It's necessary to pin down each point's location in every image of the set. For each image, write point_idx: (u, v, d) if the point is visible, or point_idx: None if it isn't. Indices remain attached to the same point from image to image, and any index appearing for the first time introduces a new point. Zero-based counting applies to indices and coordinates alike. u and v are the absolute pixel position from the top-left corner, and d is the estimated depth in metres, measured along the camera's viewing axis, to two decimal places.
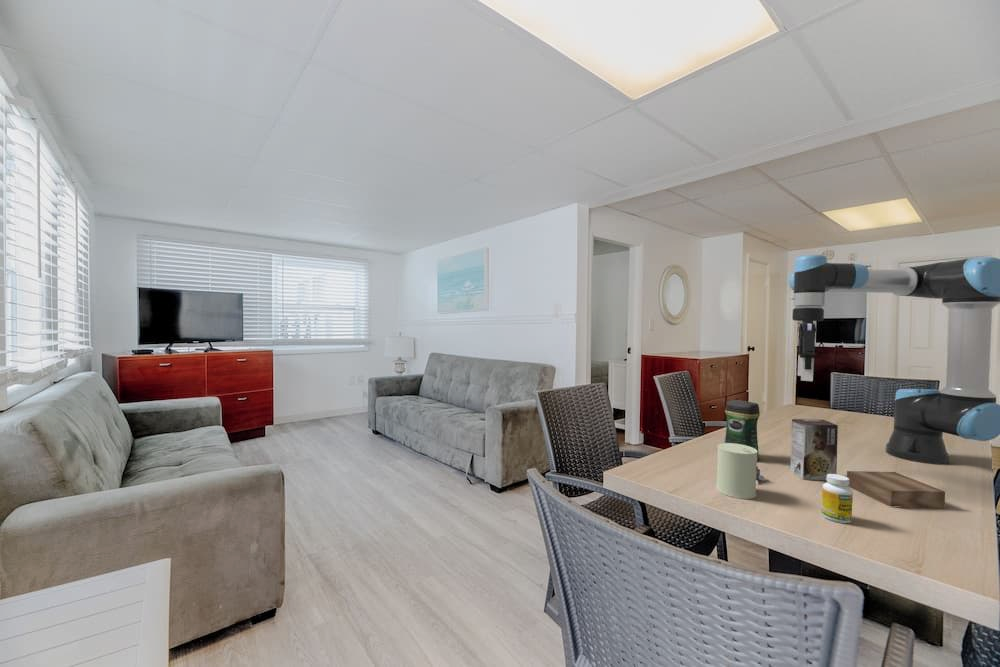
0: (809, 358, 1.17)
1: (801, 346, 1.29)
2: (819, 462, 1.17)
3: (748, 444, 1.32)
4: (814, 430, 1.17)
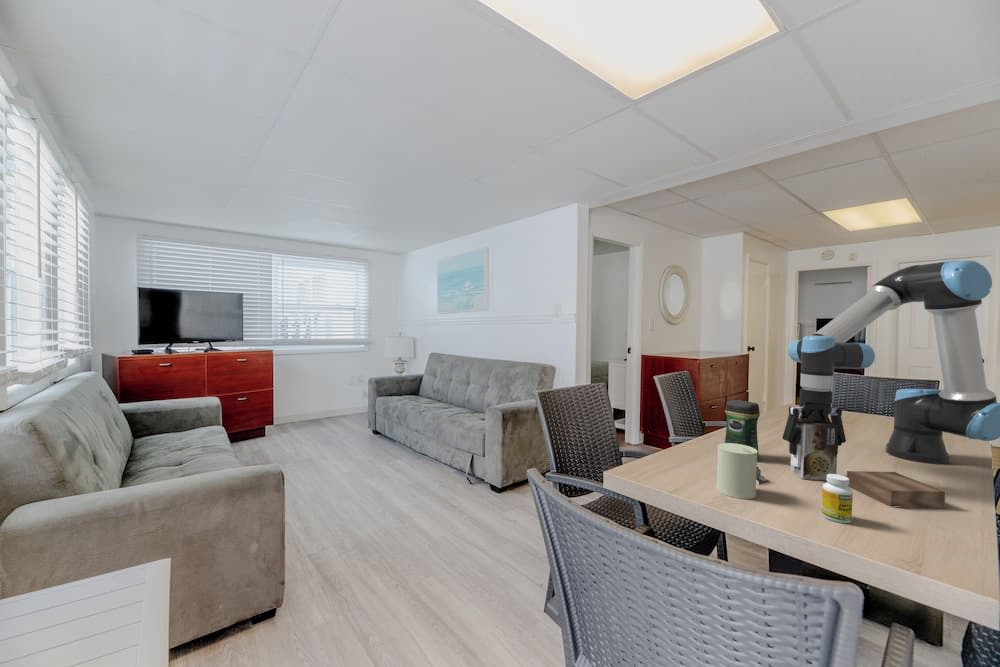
0: (791, 443, 1.20)
1: None
2: (819, 461, 1.17)
3: (748, 444, 1.32)
4: (814, 430, 1.17)
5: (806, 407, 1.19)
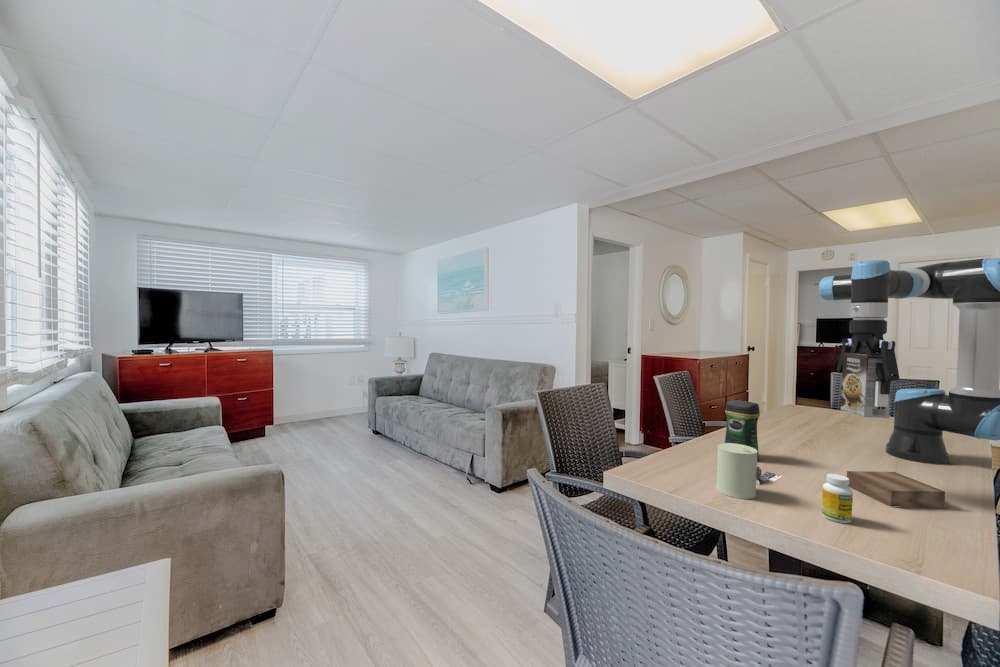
0: (889, 382, 1.04)
1: None
2: None
3: (748, 444, 1.32)
4: None
5: None
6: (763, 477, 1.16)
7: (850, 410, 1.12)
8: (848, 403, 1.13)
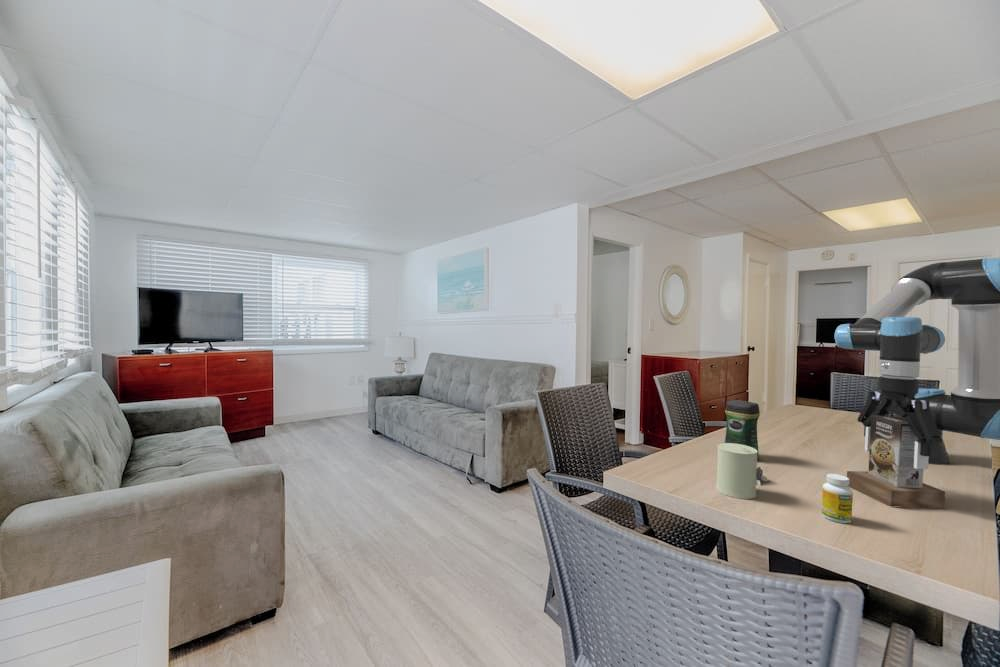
0: (930, 443, 0.98)
1: None
2: None
3: (748, 444, 1.32)
4: None
5: None
6: (764, 477, 1.16)
7: (880, 477, 1.08)
8: (877, 469, 1.08)
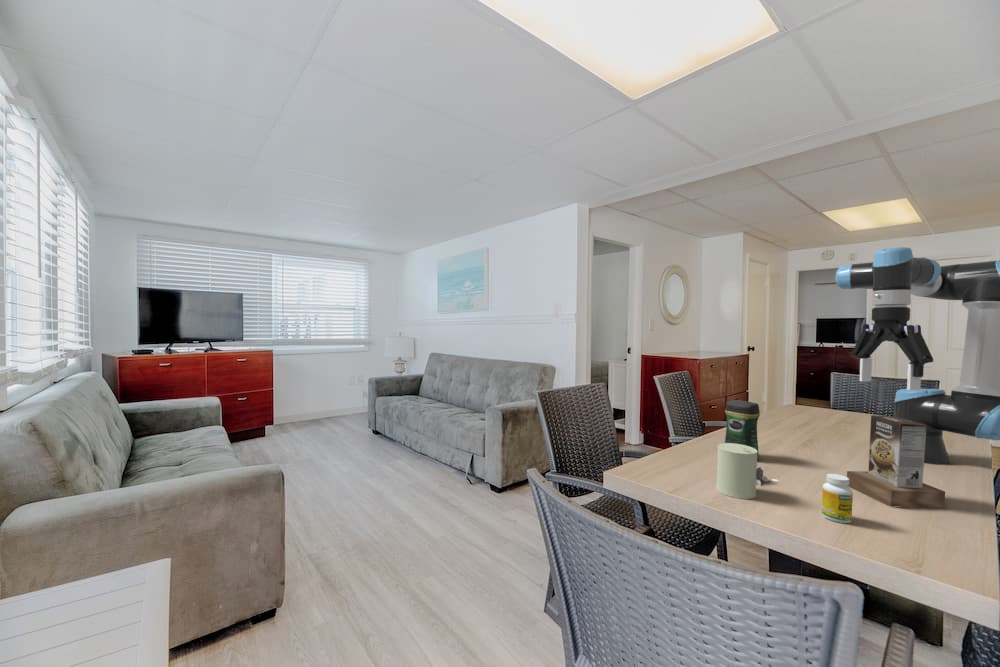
0: (922, 364, 1.03)
1: (868, 349, 1.17)
2: None
3: (748, 444, 1.32)
4: None
5: None
6: (765, 477, 1.16)
7: (880, 477, 1.08)
8: (877, 469, 1.08)
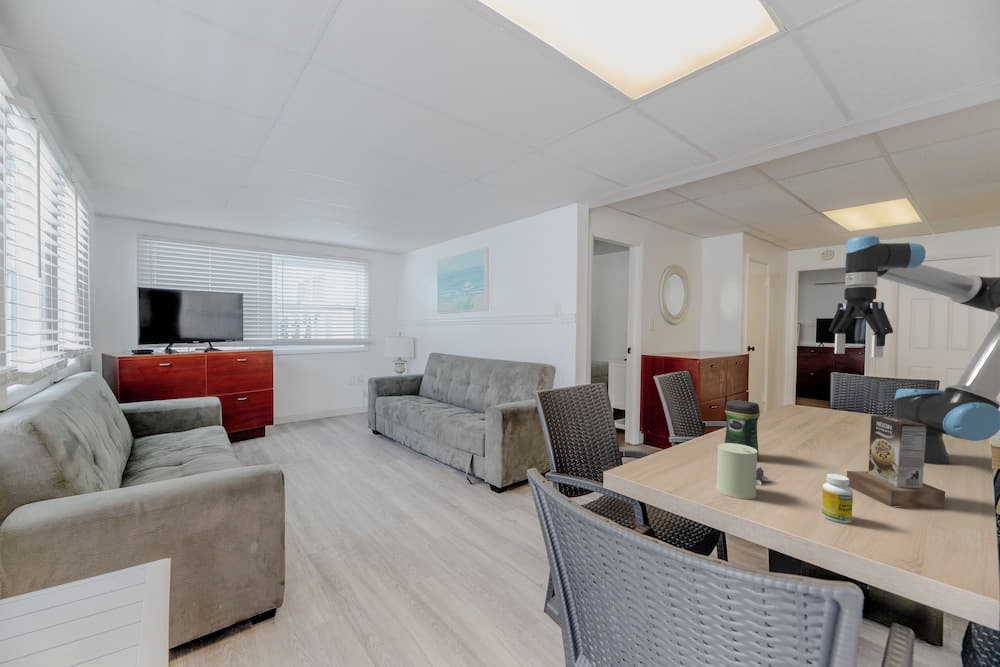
0: (884, 335, 1.20)
1: (842, 325, 1.34)
2: None
3: (748, 444, 1.32)
4: None
5: None
6: (765, 478, 1.16)
7: (880, 477, 1.08)
8: (877, 469, 1.08)
